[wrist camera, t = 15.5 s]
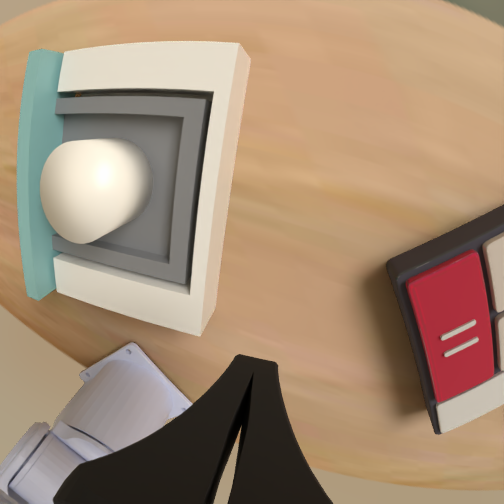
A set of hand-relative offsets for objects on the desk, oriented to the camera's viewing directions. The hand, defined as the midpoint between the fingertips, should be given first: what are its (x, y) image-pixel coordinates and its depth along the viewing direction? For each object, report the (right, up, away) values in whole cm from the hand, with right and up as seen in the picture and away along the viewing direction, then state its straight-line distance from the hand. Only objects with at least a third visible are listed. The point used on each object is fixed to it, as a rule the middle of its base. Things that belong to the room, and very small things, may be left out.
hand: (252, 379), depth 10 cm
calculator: (+16, 0, +9) cm, 19 cm away
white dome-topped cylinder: (-8, +8, +7) cm, 14 cm away
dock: (-7, +9, +9) cm, 15 cm away
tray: (-8, +9, +8) cm, 15 cm away
